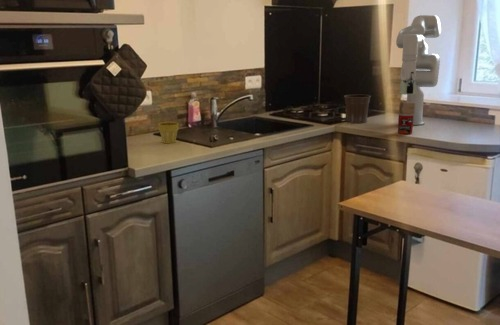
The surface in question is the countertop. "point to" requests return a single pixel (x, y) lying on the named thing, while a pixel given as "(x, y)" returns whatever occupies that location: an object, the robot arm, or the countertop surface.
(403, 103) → the cube walnut
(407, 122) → the canned food
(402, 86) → the cube sage
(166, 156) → the countertop surface
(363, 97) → the plant pot
